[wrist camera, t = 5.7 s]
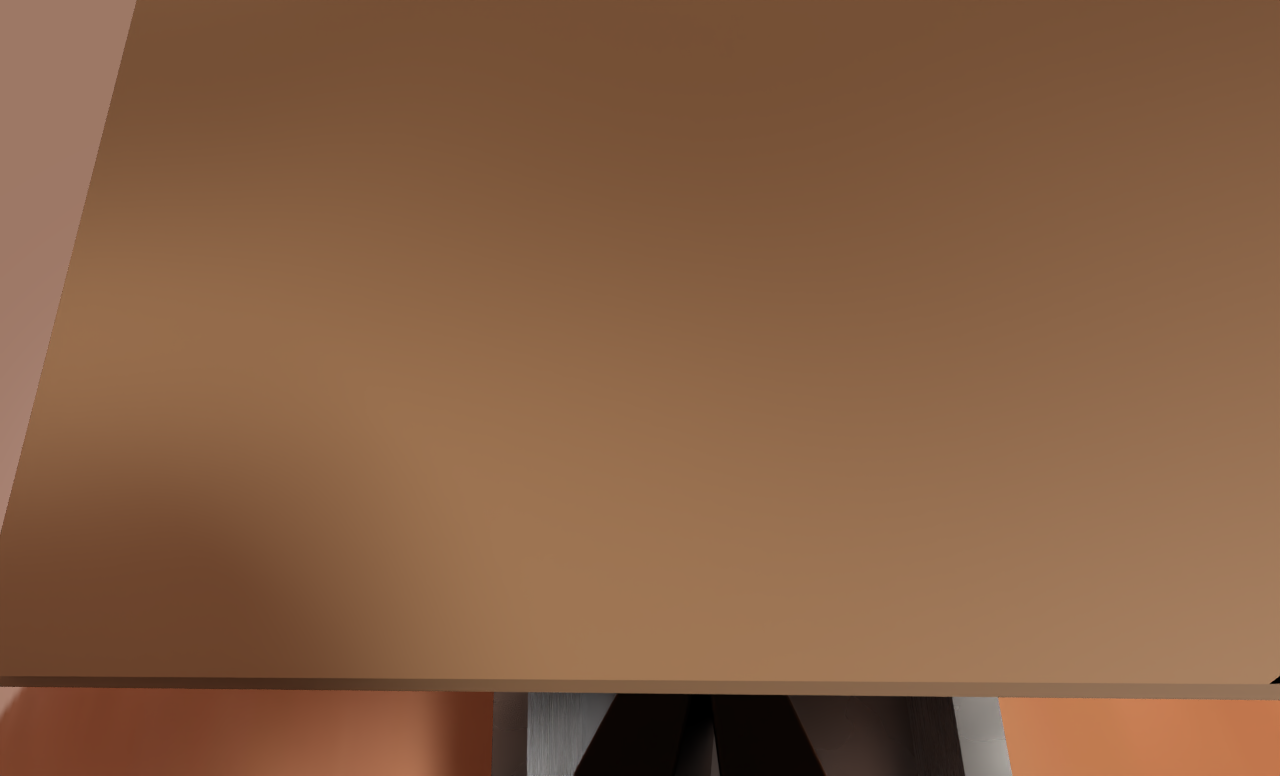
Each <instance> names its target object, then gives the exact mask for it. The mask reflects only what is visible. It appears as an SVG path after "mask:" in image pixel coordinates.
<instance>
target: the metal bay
mask: <svg viewBox="0 0 1280 776" xmlns="http://www.w3.org/2000/svg"><path fill="white" fill-rule="evenodd" d="M616 694H617V693H562V692H494V704H493V738H492V773H491V776H573V774H574V771H575V770H576V768H577V766H578V764H579V762H580V760H581V758H582V757H583V755H584V753H585V751H586V749H587V747H588V745H589V744H590V742H591V740H592V738H593V736H594V734H595V733H596V731H597V729H598V727H599V725H600V723H601V721H602V720H603V718H604V716H605V714H606V712H607V710H608V708H609V707H610V705H611V703H612V701H613V699H614V697H615V696H616ZM789 697H790V699H791V701H792V703H793V705H794V707H795V709H796V712H797V714H798V716H799V718H800V720H801V722H802V724H803V726H804V728H805V730H806V732H807V735H808V737H809V739H810V741H811V743H812V745H813V747H814V749H815V751H816V753H817V755H818V758H819V760H820V762H821V764H822V766H823V768H824V770H825V772H826V774H827V776H1012V771H1011V766H1010V761H1009V755H1008V750H1007V744H1006V739H1005V734H1004V728H1003V723H1002V717H1001V712H1000V707H999V701H998V697H937V696H843V695H789ZM711 776H720V774H719V767H718V759H717V752H716V744H715V737H714V740H713V753H712V765H711Z"/></svg>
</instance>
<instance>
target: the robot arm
mask: <svg viewBox="0 0 1280 776" xmlns="http://www.w3.org/2000/svg"><path fill="white" fill-rule="evenodd" d="M714 737H715V744H716V752H717V759H718V767H719V774H720V776H827V774H826V772H825V770H824V768H823V766H822V764H821V762H820V760H819V758H818V755H817V753H816V751H815V749H814V747H813V745H812V743H811V741H810V739H809V737H808V735H807V732H806V730H805V728H804V726H803V724H802V722H801V720H800V718H799V716H798V714H797V712H796V709H795V707H794V705H793V703H792V701H791V699H790V697H789V695H749V694H655V693H617V694H616V696H615V697H614V699H613V701H612V703H611V705H610V707H609V708H608V710H607V712H606V714H605V716H604V718H603V720H602V721H601V723H600V725H599V727H598V729H597V731H596V733H595V734H594V736H593V738H592V740H591V742H590V744H589V745H588V747H587V749H586V751H585V753H584V755H583V757H582V758H581V760H580V762H579V764H578V766H577V768H576V770H575V771H574V774H573V776H711V765H712V753H713V740H714Z"/></svg>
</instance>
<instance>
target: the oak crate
mask: <svg viewBox="0 0 1280 776" xmlns="http://www.w3.org/2000/svg"><path fill="white" fill-rule="evenodd" d="M0 686H1V687H3V686H4V687H7V686H8V687H94V688H187V689H281V690H375V691H468V692H562V693H655V694H749V695H843V696H937V697H1030V698H1124V699H1217V700H1280V0H137V1H136V5H135V9H134V13H133V17H132V21H131V25H130V29H129V33H128V37H127V40H126V44H125V48H124V52H123V56H122V60H121V64H120V68H119V72H118V76H117V79H116V83H115V87H114V92H113V95H112V99H111V103H110V107H109V111H108V115H107V119H106V122H105V126H104V130H103V134H102V138H101V142H100V146H99V150H98V154H97V158H96V162H95V166H94V169H93V174H92V177H91V181H90V185H89V189H88V193H87V197H86V201H85V205H84V209H83V213H82V217H81V220H80V225H79V228H78V232H77V236H76V240H75V244H74V248H73V252H72V256H71V260H70V263H69V267H68V271H67V275H66V279H65V283H64V287H63V291H62V295H61V299H60V303H59V307H58V310H57V315H56V319H55V322H54V326H53V330H52V334H51V338H50V342H49V346H48V350H47V353H46V357H45V361H44V365H43V369H42V373H41V377H40V381H39V385H38V389H37V393H36V397H35V400H34V405H33V408H32V412H31V416H30V420H29V424H28V428H27V432H26V436H25V440H24V444H23V447H22V451H21V456H20V459H19V463H18V467H17V471H16V475H15V479H14V483H13V487H12V490H11V495H10V498H9V502H8V506H7V510H6V514H5V518H4V522H3V526H2V530H1V534H0Z"/></svg>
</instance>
